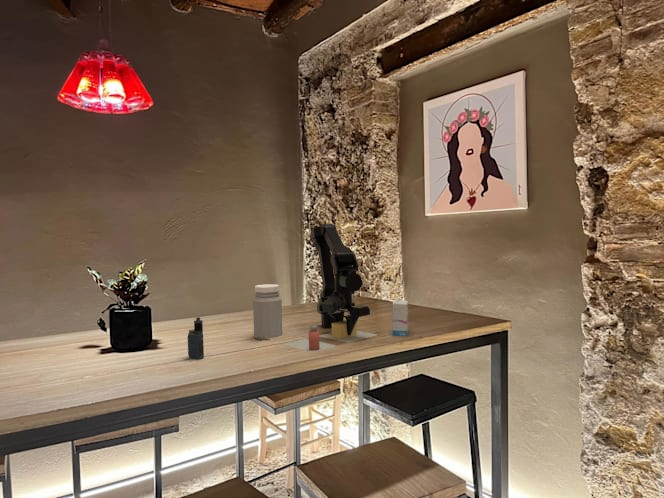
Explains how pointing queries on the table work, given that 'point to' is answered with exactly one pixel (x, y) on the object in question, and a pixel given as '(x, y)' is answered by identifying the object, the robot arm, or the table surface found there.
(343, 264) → the robot arm
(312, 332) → the small red bottle
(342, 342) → the subfloor panel
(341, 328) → the block
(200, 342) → the vaping device
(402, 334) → the ink box
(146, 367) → the table surface
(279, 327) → the jar
